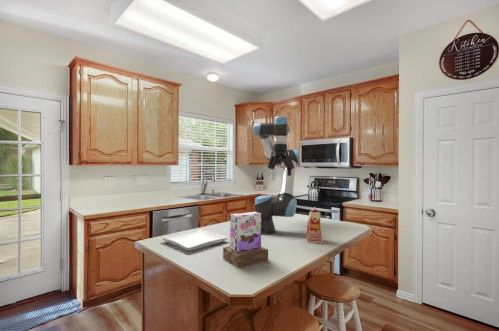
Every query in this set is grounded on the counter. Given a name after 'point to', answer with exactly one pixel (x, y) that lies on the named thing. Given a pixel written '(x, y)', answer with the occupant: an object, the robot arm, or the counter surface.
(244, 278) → the counter surface
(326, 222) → the counter surface
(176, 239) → the square plate
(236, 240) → the candy box
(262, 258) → the walnut block
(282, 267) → the counter surface
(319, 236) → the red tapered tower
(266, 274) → the counter surface
